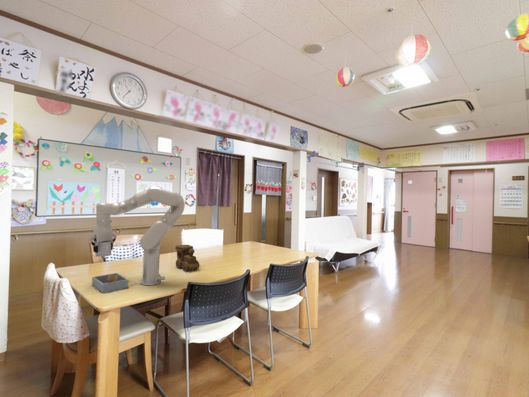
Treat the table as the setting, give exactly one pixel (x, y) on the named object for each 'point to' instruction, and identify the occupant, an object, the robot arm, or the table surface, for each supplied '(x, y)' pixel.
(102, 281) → the tote
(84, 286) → the table surface
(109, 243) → the medicine box
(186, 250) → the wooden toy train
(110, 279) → the walnut cylinder
